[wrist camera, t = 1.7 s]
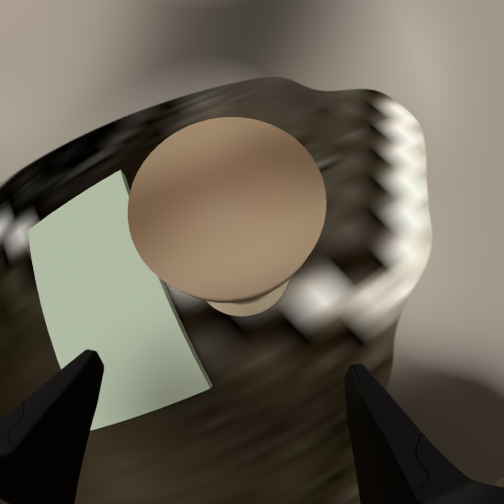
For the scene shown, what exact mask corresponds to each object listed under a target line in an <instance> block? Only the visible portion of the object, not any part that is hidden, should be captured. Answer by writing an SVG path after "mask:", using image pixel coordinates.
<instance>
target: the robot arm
mask: <svg viewBox="0 0 504 504" xmlns="http://www.w3.org/2000/svg"><path fill="white" fill-rule="evenodd" d="M103 374H104V364H103V362H102V360H101V358H100V356H99V354H98V353H97V351H95V350H90V349H86V350H85V351H83V352H82V353H81V354H80V355H78V356H77V357H76V358H75V359H73V360H72V361H71V362H70V363H68V364H67V365H66V366H65V367H64V368H62V369H61V370H60V371H59V372H57V373H56V374H55V375H54V376H53V377H51V378H50V379H49V380H48V381H46V382H45V383H44V384H43V385H42V386H40V387H39V388H38V389H37V390H36V391H34V392H33V393H32V394H31V395H30V396H28V397H27V398H26V399H25V401H22V402H21V403H20V404H19V405H18V406H16V407H15V408H14V409H13V410H11V411H10V412H9V413H7V414H6V415H5V416H3V417H2V418H0V504H74V503H75V497H76V491H77V485H78V480H79V475H80V470H81V466H82V461H83V457H84V453H85V449H86V445H87V441H88V437H89V433H90V429H91V425H92V422H93V418H94V415H95V411H96V408H97V404H98V399H99V394H100V389H101V383H102V378H103ZM345 393H346V407H347V421H348V427H349V433H350V438H351V444H352V450H353V456H354V462H355V468H356V474H357V481H358V488H359V495H360V503H361V504H504V487H499V486H494V485H490V484H485V483H481V482H477V481H474V480H472V479H470V478H469V477H467V476H466V475H464V474H463V473H462V472H461V471H460V470H459V469H458V468H457V467H455V466H454V465H453V464H452V463H451V462H450V461H449V460H448V459H447V458H446V457H444V456H443V455H442V454H441V453H440V452H439V451H438V450H437V449H436V448H435V447H434V446H433V445H432V443H431V442H430V441H429V440H428V439H427V438H426V436H425V435H424V434H423V433H422V432H421V433H420V430H419V428H418V427H417V426H416V425H415V424H414V423H413V421H412V420H411V419H410V418H409V417H408V416H407V414H406V413H405V412H404V411H403V410H402V408H401V407H400V406H399V405H398V404H397V403H396V401H395V400H394V399H393V398H392V397H391V396H390V394H389V393H388V392H387V391H386V390H385V389H384V387H383V386H382V385H381V384H380V383H379V382H378V380H377V379H376V378H375V377H374V376H373V375H372V373H371V372H370V371H369V370H368V369H367V368H366V367H365V365H364V364H362V363H356V364H351V365H350V367H349V369H348V372H347V374H346V377H345Z"/></svg>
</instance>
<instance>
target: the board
mask: <svg viewBox="0 0 504 504" xmlns="http://www.w3.org/2000/svg"><path fill="white" fill-rule="evenodd" d="M129 195H130V189H129V186H128V183H127V180H126V177H125V175H124V174H123V173H122V171H121V170H120V171H118V172H116V173H114V174H113V175H111V176H109V177H107V178H106V179H104V180H102V181H101V182H99V183H97V184H96V185H94V186H92V187H91V188H89V189H88V190H86V191H84V192H83V193H81V194H80V195H78V196H77V197H75V198H73V199H72V200H70V201H69V202H67V203H66V204H64V205H63V206H61V207H60V208H59V209H57V210H56V211H54V212H53V213H51V214H50V215H49V216H47V217H46V218H44V219H43V220H42V221H40V222H39V223H37V224H36V225H35V226H33V227H32V228H31V229H29V230H28V235H29V243H30V250H31V257H32V263H33V268H34V274H35V279H36V284H37V289H38V293H39V297H40V302H41V306H42V310H43V314H44V317H45V321H46V325H47V328H48V331H49V335H50V338H51V341H52V344H53V347H54V350H55V353H56V356H57V359H58V362H59V365H60V367H61V369H62V368H64V367H65V366H66V365H67V364H68V363H70V362H71V361H72V360H73V359H75V358H76V357H77V356H78V355H80V354H81V353H82V352H83V351H85V350H86V349H90V350H95V351H97V353H98V354H99V356H100V358H101V360H102V362H103V364H104V374H103V378H102V383H101V389H100V394H99V399H98V404H97V408H96V411H95V415H94V418H93V422H92V425H91V429H90V430H94V429H98V428H101V427H105V426H108V425H111V424H115V423H118V422H121V421H124V420H128V419H131V418H134V417H137V416H140V415H143V414H146V413H148V412H151V411H154V410H157V409H160V408H162V407H165V406H168V405H170V404H173V403H176V402H178V401H181V400H183V399H186V398H188V397H191V396H193V395H196V394H198V393H201V392H203V391H206V390H208V389H210V388H211V387H212V386H213V385H212V383H211V381H210V379H209V377H208V375H207V373H206V371H205V369H204V367H203V366H202V364H201V362H200V360H199V358H198V356H197V354H196V352H195V350H194V347H193V345H192V343H191V341H190V339H189V337H188V335H187V333H186V331H185V329H184V326H183V324H182V322H181V320H180V318H179V316H178V313H177V311H176V309H175V307H174V304H173V302H172V300H171V297H170V295H169V293H168V290H167V288H166V286H165V283H164V281H163V280H161V279H160V278H159V277H158V276H157V275H156V274H154V273H153V272H152V271H151V270H150V269H149V267H148V266H147V265H146V264H145V263H144V262H143V260H142V258H141V257H140V255H139V254H138V252H137V250H136V248H135V246H134V243H133V241H132V238H131V234H130V230H129V225H128V201H129Z"/></svg>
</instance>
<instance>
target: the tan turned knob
mask: <svg viewBox="0 0 504 504" xmlns="http://www.w3.org/2000/svg"><path fill="white" fill-rule="evenodd" d="M325 214H326V193H325V186H324V183H323V179H322V176H321V173H320V171H319V169H318V166H317V165H316V163H315V161H314V160H313V158H312V156H311V155H310V154H309V153H308V151H307V150H306V149H305V148H304V147H303V146H302V145H301V144H300V143H299V142H298V141H297V140H296V139H295V138H293V137H292V136H290V135H289V134H288V133H286V132H285V131H283V130H281V129H279V128H277V127H275V126H273V125H270V124H268V123H265V122H262V121H258V120H254V119H248V118H239V117H224V118H215V119H209V120H205V121H202V122H198V123H195V124H193V125H190V126H188V127H186V128H184V129H182V130H180V131H178V132H176V133H174V134H173V135H171V136H170V137H168V138H167V139H166V140H164V141H163V142H162V143H161V144H160V145H158V146H157V147H156V148H155V149H154V151H153V152H152V153H151V154H150V155H149V156H148V157H147V159H146V160H145V161H144V163H143V164H142V166H141V168H140V169H139V171H138V173H137V175H136V177H135V179H134V182H133V185H132V188H131V191H130V195H129V201H128V225H129V230H130V234H131V238H132V241H133V243H134V246H135V248H136V250H137V252H138V254H139V255H140V257H141V258H142V260H143V262H144V263H145V264H146V265H147V266H148V267H149V269H150V270H151V271H152V272H153V273H154V274H156V275H157V276H158V277H159V278H160V279H161V280H163V281H165V282H166V283H168V284H169V285H171V286H172V287H174V288H176V289H178V290H180V291H182V292H184V293H186V294H188V295H190V296H192V297H195V298H198V299H201V300H205V301H207V302H208V303H209V304H210V305H211V306H212V307H214V308H215V309H217V310H219V311H221V312H223V313H225V314H228V315H232V316H239V317H246V316H253V315H256V314H259V313H262V312H264V311H266V310H267V309H269V308H270V307H272V306H273V305H274V304H275V303H276V302H277V301H278V300H279V299H280V297H281V296H282V294H283V293H284V291H285V289H286V288H287V285H288V282H289V279H290V278H291V277H292V276H293V275H294V274H295V273H296V272H297V271H298V270H299V269H300V267H301V266H302V265H303V263H304V262H305V260H306V259H307V257H308V256H309V254H310V253H311V251H312V250H313V248H314V246H315V244H316V242H317V240H318V238H319V236H320V234H321V231H322V228H323V225H324V220H325Z"/></svg>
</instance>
